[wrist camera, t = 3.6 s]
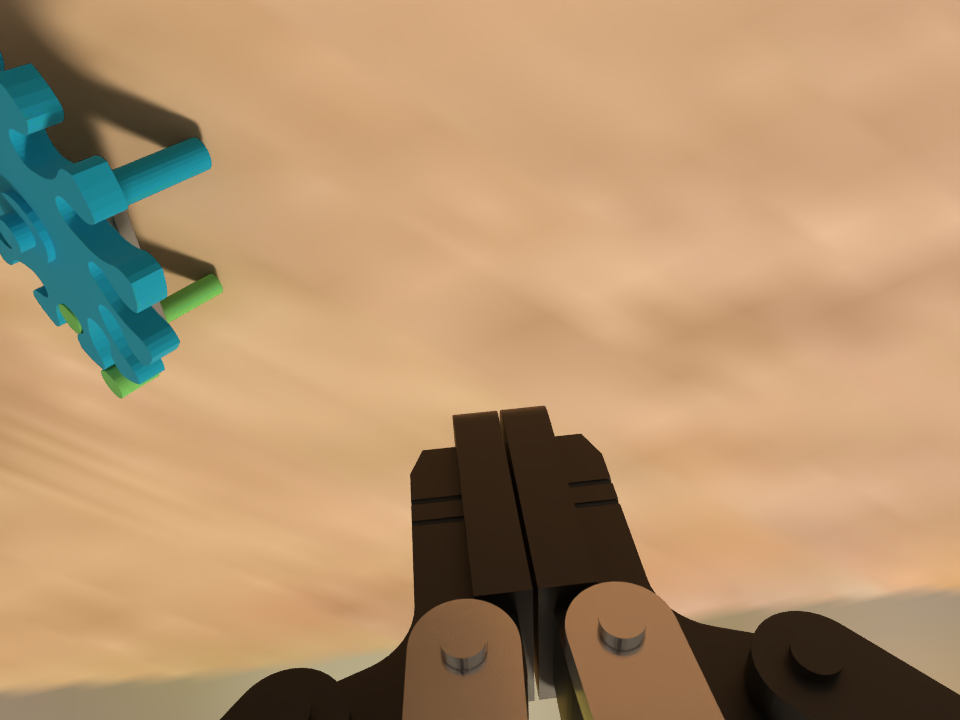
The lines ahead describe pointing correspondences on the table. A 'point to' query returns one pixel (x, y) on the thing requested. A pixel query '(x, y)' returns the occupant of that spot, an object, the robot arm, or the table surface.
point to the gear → (90, 235)
